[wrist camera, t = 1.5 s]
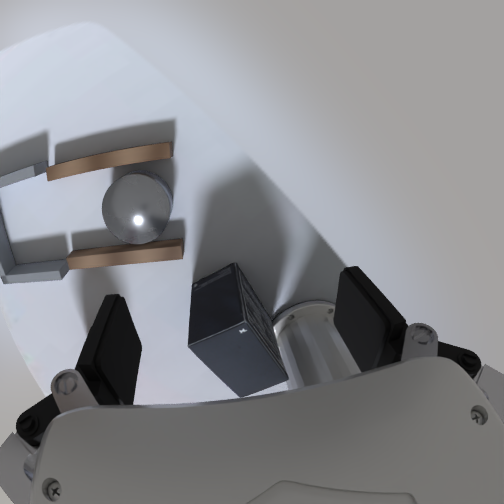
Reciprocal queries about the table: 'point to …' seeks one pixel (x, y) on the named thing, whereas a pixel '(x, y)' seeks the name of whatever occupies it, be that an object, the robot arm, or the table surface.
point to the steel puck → (137, 207)
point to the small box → (234, 333)
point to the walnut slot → (129, 251)
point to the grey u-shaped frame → (3, 260)
